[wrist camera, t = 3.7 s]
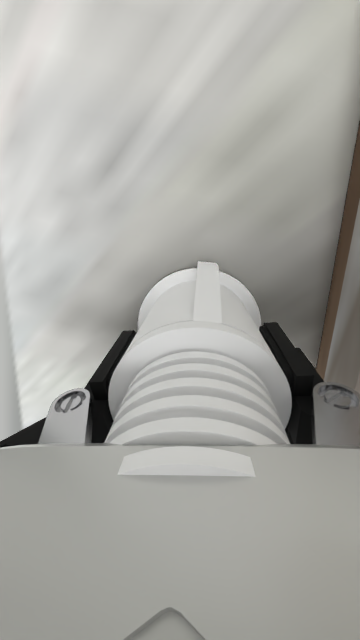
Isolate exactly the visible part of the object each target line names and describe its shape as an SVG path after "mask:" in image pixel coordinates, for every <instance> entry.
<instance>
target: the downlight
mask: <svg viewBox="0 0 360 640" xmlns="http://www.w3.org/2000/svg"><path fill="white" fill-rule="evenodd" d="M260 326H261V316H260V311H259V308H258V305H257V303H256V301H255V299H254V297H253V296H252V294H251V293H250V292H249V290H248V289H247V288H246V287H245V286H244V285H243V284H242V283H241V282H239V281H238V280H237V279H235V278H234V277H232V276H230V275H228V274H226V273H224V272H221V271H219V267H218V265H217V263H212V262H201V261H198V267H197V268H190V269H184V270H180V271H177V272H175V273H172V274H170V275H168V276H166V277H165V278H163V279H162V280H160V281H159V282H158V283H157V284H156V285H155V286H154V287H153V288H152V289H151V290H150V291H149V293H148V294H147V295H146V297H145V299H144V301H143V302H142V305H141V307H140V311H139V315H138V332H137V334H136V335H135V337H134V339H133V340H132V342H131V344H130V345H129V347H128V349H127V350H126V352H125V354H124V355H123V357H122V359H121V360H120V362H119V364H118V365H117V367H116V369H115V371H114V372H113V375H112V378H111V381H110V385H109V391H108V401H109V408H110V412H111V415H112V418H113V420H114V422H113V424H112V426H111V429H110V431H109V433H108V435H107V438H106V440H105V442H104V443H112V444H120V445H268V444H290V442H289V439H288V437H287V434H286V432H285V428H286V426H287V424H288V422H289V418H290V415H291V408H292V397H291V391H290V387H289V383H288V381H287V378H286V376H285V374H284V373H283V371H282V369H281V367H280V366H279V364H278V362H277V361H276V359H275V357H274V355H273V354H272V352H271V350H270V349H269V347H268V345H267V343H266V342H265V340H264V338H263V337H262V335H261V333H260V331H259V327H260ZM117 475H190V476H248V477H256V476H255V472H254V469H253V465H252V462H251V458H250V457H248V456H245V455H242V454H239V453H234V452H230V451H226V450H220V449H214V448H206V447H194V446H175V447H162V448H154V449H149V450H144V451H140V452H136V453H133V454H129V455H127V456H124V458H123V461H122V464H121V466H120V469H119V472H118V474H117Z"/></svg>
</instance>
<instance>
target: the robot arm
mask: <svg viewBox="0 0 360 640" xmlns="http://www.w3.org/2000/svg"><path fill="white" fill-rule="evenodd" d="M259 331H260V333H261V335H262V337H263V338H264V340H265V342H266V343H267V345H268V347H269V349H270V350H271V352H272V354H273V355H274V357H275V359H276V361H277V362H278V364H279V366H280V367H281V369H282V371H283V373H284V374H285V376H286V378H287V381H288V383H289V387H290V391H291V397H292V408H291V415H290V418H289V422H288V424H287V426H286V428H285V432H286V434H287V437H288V439H289V442H290V444H268V445H120V444H112V443H104V442H105V440H106V438H107V435H108V433H109V431H110V429H111V426H112V424H113V422H114V420H113V418H112V415H111V412H110V408H109V401H108V391H109V385H110V381H111V378H112V375H113V372H114V371H115V369H116V367H117V365H118V364H119V362H120V360H121V359H122V357H123V355H124V354H125V352H126V350H127V349H128V347H129V345H130V344H131V342H132V340H133V339H134V337H135V335H136V334H137V333H135V331H134V330H133V331H123V332H122V333H121V335H120V336H119V338H118V339H117V341H116V342H115V344H114V345H113V347H112V348H111V350H110V351H109V352H108V354H107V355H106V357H105V358H104V360H103V361H102V363H101V364H100V366H99V367H98V369H97V370H96V372H95V373H94V375H93V376H92V378H91V379H90V381H89V382H88V384H87V385H86V387H85V388H84V389H83V388H77V389H72V390H69V391H67V392H65V393H63V394H61V395H60V396H59V397H57V398H56V399H55V400H54V401H53V402H52V404H51V406H50V409H49V412H48V415H47V417H46V418H44V419H42V420H40V421H38V422H36V423H34V424H33V425H31V426H29V427H27V428H25V429H23V430H21V431H19V432H18V433H16V434H14V435H12V436H10V437H8V438H7V439H5V440H2V441H1V442H0V640H360V394H359V393H358V392H357V391H355V390H354V389H352V388H351V387H348V386H346V385H343V384H340V383H336V382H324V380H323V379H322V378H321V376H320V375H319V374H318V372H317V371H316V370H315V368H314V367H313V366H312V364H311V363H310V361H309V360H308V359H307V357H306V356H305V355H304V353H303V352H302V351H301V349H300V348H295V347H294V346H293V345H292V343H291V342H290V340H289V339H288V338H287V336H286V335H285V333H284V332H283V330H282V329H281V328H280V326H279V325H278V323H277V322H272V323H264V324H263V326H260V327H259ZM175 446H194V447H206V448H214V449H220V450H226V451H230V452H234V453H239V454H242V455H245V456H248V457H250V458H251V462H252V465H253V469H254V472H255V476H256V477H248V476H190V475H117V474H118V472H119V469H120V466H121V464H122V461H123V458H124V456H127V455H129V454H133V453H136V452H140V451H144V450H149V449H154V448H162V447H175Z"/></svg>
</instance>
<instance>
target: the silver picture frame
mask: <svg viewBox="0 0 360 640" xmlns="http://www.w3.org/2000/svg"><path fill="white" fill-rule="evenodd" d="M316 371H317V372H318V374H319V375H320V376H321V378H322V379H323V380H324V382H336V383H340V384H343V385H346V386H348V387H351V388H352V389H354V390H355V391H357V392H358V393H359V394H360V123H359V129H358V134H357V140H356V146H355V151H354V157H353V163H352V169H351V174H350V180H349V186H348V191H347V197H346V203H345V208H344V214H343V220H342V225H341V231H340V237H339V242H338V248H337V254H336V259H335V265H334V271H333V276H332V282H331V288H330V293H329V299H328V305H327V310H326V316H325V322H324V328H323V333H322V339H321V345H320V350H319V356H318V362H317V367H316Z"/></svg>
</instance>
